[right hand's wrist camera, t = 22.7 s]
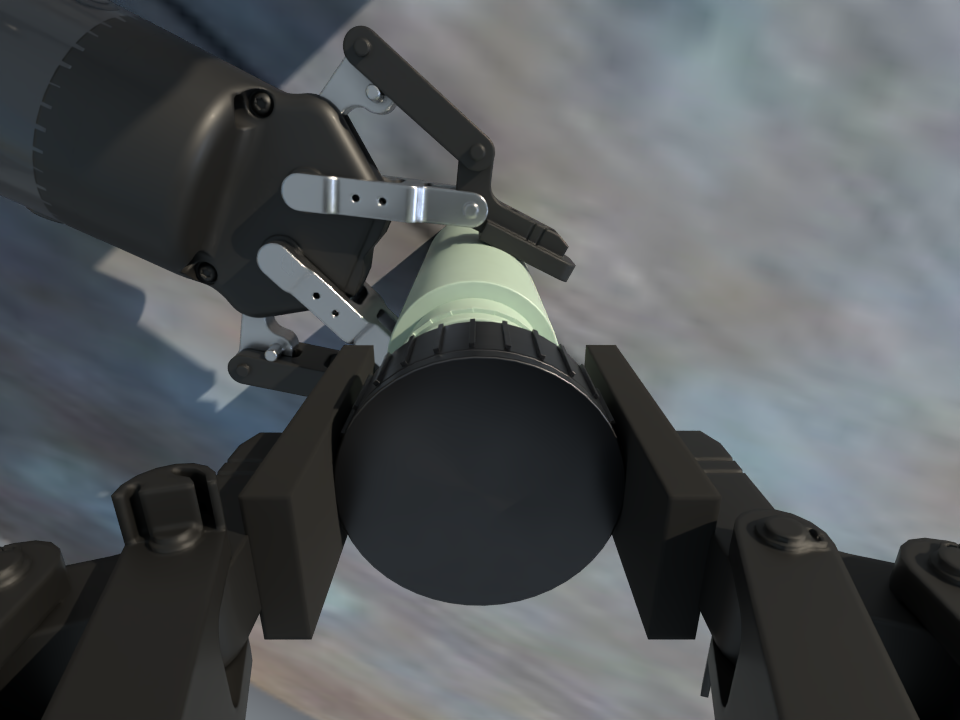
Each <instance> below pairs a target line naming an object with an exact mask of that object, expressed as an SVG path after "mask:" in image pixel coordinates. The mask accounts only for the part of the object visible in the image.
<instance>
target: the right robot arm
mask: <svg viewBox="0 0 960 720" xmlns="http://www.w3.org/2000/svg"><path fill="white" fill-rule="evenodd" d="M585 368H586V370H587V372H588V374H589V376H590V378H591V380H592V383H593V385H594V387H595V389H596V388H598V389H599V391H600V393H601V395H602V397H603V399H604V401H605V403H606V405H607V407H608V409H609V411H610V413H611V415H612V417H613V419H614V421H615V423H616V424H614V425H612V427H613V429H614V431H615V433H616V435H617V438H618V440H619V443H620V446H621V449H622V452H623V456H624V462H625V469H626V482H625V492H624V500H623V507H622V511H621V514H620V517H619V520H618V522H617V525H616V527H615V529H614V531H613V533H612V536H613V539H614V542H615V545H616V547H617V550H618V553H619V556H620V559H621V562H622V565H623V568H624V571H625V574H626V577H627V579H628V582H629V585H630V588H631V591H632V594H633V597H634V600H635V603H636V606H637V608H638V611H639V614H640V617H641V620H642V623H643V626H644V629H645V632H646V635H647V637H648V639H695V637H696V632H697V627H698V621H699V616H700V611H701V613H702V616H703V618H704V620H705V622H706V624H707V626H708V628H709V630H710V632H711V634H712V638H711V643H710V648H709V653H708V658H707V663H706V668H705V673H704V678H703V683H702V689H701V696H703V697H708V696H709V691H710V686H711V691H712V699H713V707H714V715H715V720H960V544H959V545H958V544H956V543H954V542H950V541H946V540H937V539H930V538H919V539H911V540H908V541H907V542H905V543H904V544H903V545H901V546H900V549H899V552H898V555H897V558H896V561H895V563H891V562H886V561H881V560H877V559H872V558H867V557H862V556H857V555H852V554H848V553H844V552H840V551H838V550H837V547H836V545H835V544H834V543H833V541H832V540H831V539H830V537H829V536H828V535H827V534H826V532H824V531H823V530H821V529H820V528H818V527H817V526H816V525H814V524H813V523H811V522H810V521H807V520H805V519H803V518H801V517H798V516H796V515H794V514H791V513H787V512H783V511H779V510H775V509H774V508H773V507H772V505H771V504H770V503H769V502H768V501H767V499H766V498H765V497H764V496H763V495H762V493H761V492H760V491H759V490H758V488H757V487H756V486H755V485H754V484H753V482H752V481H751V480H750V479H749V478H748V476H747V475H746V474H745V473H742V469H741V468H740V467H739V465H738V464H737V463H736V462H735V461H732V457H731V456H730V454H729V453H728V452H727V451H726V450H725V448H724V447H723V446H722V445H721V444H720V443H719V442H717V441H716V440H714V439H712V438H711V437H709V436H708V435H706V434H704V433H703V432H701V431H676V430H675V429H674V428H673V426H672V425H671V423H670V422H669V420H668V419H667V418H666V416H665V415H664V413H663V412H662V410H661V409H660V408H659V406H658V405H657V403H656V402H655V401H654V399H653V398H652V396H651V395H650V393H649V392H648V391H647V389H646V388H645V386H644V385H643V383H642V382H641V381H640V379H639V378H638V376H637V375H636V373H635V372H634V371H633V369H632V368H631V366H630V365H629V363H628V362H627V361H626V359H625V358H624V356H623V355H622V353H621V352H620V351H619V349H618V348H617V346H616V345H586V353H585ZM374 373H375V358H374V345H344V346H343V347H342V349H341V350H340V351H339V353H338V354H337V356H336V357H335V359H334V360H333V361H332V363H331V364H330V366H329V367H328V369H327V370H326V371H325V373H324V374H323V376H322V377H321V379H320V380H319V381H318V383H317V384H316V386H315V387H314V389H313V390H312V391H311V393H310V394H309V396H308V397H307V399H306V400H305V401H304V403H303V404H302V406H301V407H300V409H299V410H298V411H297V413H296V414H295V416H294V417H293V419H292V420H291V421H290V423H289V424H288V426H287V427H286V429H285V430H284V431H283V433H259V434H257V435H255V436H254V437H252V438H250V439H249V440H247V441H246V442H244V443H242V444H241V445H239V447H238V448H237V449H236V450H235V451H234V453H233V454H232V455H231V456H230V458H229V459H228V462H227V463H225V464H224V465H223V466H222V467H221V469H220V470H219V471H218V475H216V473H215V472H214V471H213V470H212V469H210V468H209V467H208V466H205V465H200V464H195V463H187V464H173V465H168V466H164V467H159V468H155V469H153V470H150V471H147V472H145V473H142V474H140V475H137V476H135V477H134V478H132V479H130V480H129V481H127V482H126V483H124V484H122V485H121V486H120V487H119V488H118V489H117V490H116V491H115V492H114V493H113V494H112V495H111V497H112V501H113V504H114V508H115V511H116V515H117V518H118V522H119V525H120V529H121V532H122V536H123V539H124V543H125V546H124V549H123V551H122V553H121V554H118V555H114V556H110V557H105V558H100V559H95V560H91V561H86V562H81V563H76V564H71V565H66V566H65V563H64V560H63V557H62V554H61V551H60V548H58V547H57V546H56V545H54V544H53V543H52V542H45V541H37V540H35V541H27V542H20V543H13V544H9V545H5V546H4V547H0V720H245V716H246V708H247V700H248V692H249V684H250V676H251V668H252V654H251V648H250V643H249V638H248V636H249V634H250V632H251V630H252V628H253V626H254V624H255V622H256V620H257V618H258V615H259V613H260V618H261V623H262V629H263V634H264V639H312V636H313V634H314V631H315V628H316V625H317V622H318V619H319V616H320V613H321V610H322V607H323V605H324V602H325V599H326V596H327V593H328V590H329V587H330V584H331V581H332V578H333V575H334V573H335V570H336V567H337V564H338V561H339V558H340V555H341V552H342V549H343V546H344V544H345V541H346V538H347V535H348V534H347V532H346V530H345V529H344V526H343V524H342V521H341V518H340V516H339V513H338V509H337V505H336V496H335V487H334V464H335V460H336V456H337V451H338V447H339V445H340V442H341V440H342V437H340V433H341V430H342V428H343V426H344V424H345V422H346V420H347V418H348V416H349V414H350V412H351V410H352V407H353V405H354V403H355V401H356V399H357V397H358V395H359V393H360V391H361V389H362V387H363V385H364V383H365V381H366V379H367V377H368V376H369V374H371V375H372V376H373V375H374Z"/></svg>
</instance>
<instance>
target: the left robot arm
mask: <svg viewBox="0 0 960 720" xmlns="http://www.w3.org/2000/svg"><path fill="white" fill-rule="evenodd" d="M343 50H344V54H345V58H344V59H343V60H342V62H341V63H340V65H339V66H338V68H337V69H336V71H335V72H334V74H333V75H332V77H331V78H330V80H329V81H328V83H327V84H326V86H325V87H324V89H323V90H322V92H321V93H320V95H317V94H312V93H304V94H290V93H286V92H284V91H282V90H280V89H277V88H276V87H274V86H272V85H270V84H268V83H266V82H264V81H262V80H260V79H258V78H256V77H254V76H252V75H251V74H249V73H247V72H245V71H243V70H241V69H239V68H237V67H235V66H233V65H231V64H229V63H228V62H226V61H224V60H222V59H220V58H218V57H216V56H214V55H212V54H210V53H208V52H206V51H204V50H203V49H201V48H199V47H197V46H195V45H193V44H191V43H189V42H187V41H185V40H183V39H181V38H180V37H178V36H176V35H174V34H172V33H170V32H168V31H166V30H164V29H162V28H161V27H159V26H157V25H155V24H153V23H151V22H149V21H147V20H145V19H143V18H141V17H139V16H137V15H135V14H133V13H131V12H130V11H128V10H126V9H124V8H122V7H120V6H118V5H116V4H115V3H113V2H112V1H110V0H0V195H1V196H3V197H6V198H8V199H10V200H12V201H15V202H17V203H19V204H22V205H24V206H26V207H27V208H28V209H29V210H31V212H33V213H34V214H36V215H38V216H41V217H43V218H46V219H48V220H51V221H54V222H58V223H63V224H66V225H68V226H70V227H73V228H75V229H77V230H79V231H82V232H84V233H86V234H88V235H91V236H93V237H95V238H97V239H100V240H102V241H104V242H107V243H109V244H111V245H113V246H116V247H118V248H120V249H122V250H124V251H127V252H129V253H131V254H133V255H136V256H138V257H140V258H142V259H144V260H147V261H149V262H151V263H153V264H156V265H158V266H160V267H162V268H164V269H167V270H169V271H171V272H173V273H176V274H178V275H180V276H183V277H186V278H189V279H192V280H195V281H198V282H201V283H204V284H207V285H209V286H211V287H212V288H214V289H215V290H217V291H218V292H219V293H220V294H222V295H223V296H224V297H225V298H226V299H227V301H228V302H229V303H230V304H231V305H232V306H233V307H234V308H235V309H236V310H237V311H239V312H240V313H242V320H241V334H240V349H239V352H238V353H237V354H236V356H234V357H233V358H232V359H231V360H230V361H229V364H228V372H229V374H230V376H231V377H232V378H233V379H234V380H235V381H237V382H239V383H242V384H246V385H251V386H256V387H261V388H267V389H272V390H277V391H282V392H287V393H292V394H297V395H302V396H307V397H308V396H309V394H310V393H311V391H312V390H313V389H314V387H315V386H316V384H317V383H318V381H319V380H320V379H321V377H322V376H323V374H324V373H325V371H326V370H327V369H328V367H329V366H330V364H331V363H332V361H333V360H334V359H335V357H336V356H337V354H338V353H339V350H334V349H330V348H325V347H320V346H315V345H310V344H305V343H300V342H299V340H298V338H297V336H296V334H295V333H294V332H292V331H291V330H289V329H286V328H284V327H282V326H280V325H279V324H278V323H277V321H276V320H275V318H274V316H278V315H284V314H290V313H296V312H302V311H309V310H310V311H311V312H312V313H313V314H314V315H315V316H316V317H317V318H318V319H320V320H321V321H322V322H323V323H324V324H325V325H326V326H327V327H328V328H329V329H331V330H332V331H333V332H334V333H335V334H336V335H337V336H338V337H339V338H341V339H342V340H343V341H344V342H346V343H348V344H354V345H374V358H375V372H376V371H377V369H378V368H379V367H380V366H381V364H382V362H383V360H384V357H385V355H386V354H387V351H388V344H389V341H390V337H391V334H392V332H393V329H394V327H395V325H396V323H397V320H398V317H397V316H396V315H395V314H394V313H393V312H392V311H391V310H389V309H388V307H387V306H386V305H385V303H384V300H383V299H382V297H381V296H380V295H379V294H378V293H377V292H376V291H375V290H374V289H373V288H372V287H371V286H370V285H369V284H368V283H366V282H365V280H366V278H367V276H368V273H369V271H370V269H371V265H372V258H373V250H374V247H375V245H376V244H377V243H378V241H379V240H380V239H381V238H382V237H383V235H384V234H385V233H386V232H387V229H388V227H389V225H390V223H391V221H399V222H408V223H418V222H425V223H434V224H442V225H450V226H459V227H467V228H472V229H474V230H476V231H478V232H479V239H480V240H482V241H484V242H486V243H488V244H489V245H491V246H493V247H495V248H497V249H500V250H502V251H504V252H506V253H508V254H509V255H511V256H513V257H515V258H517V259H519V260H521V261H523V262H525V263H527V264H529V265H531V266H533V267H535V268H537V269H539V270H541V271H543V272H545V273H547V274H549V275H551V276H553V277H555V278H557V279H559V280H561V281H564V282H567V280H568V278H569V276H570V275H571V273H572V271H573V269H574V268H575V266H576V265H575V264H574V263H573V262H572V260H571V259H570V258H569V257H567V256H566V255H564V254H565V252H566V250H567V248H568V247H569V246H568V245H567V244H566V243H565V241H564V240H563V239H562V238H561V236H560V235H559V234H558V233H557V232H556V231H555V230H554V229H552V228H550V227H548V226H546V225H545V224H543V223H541V222H539V221H537V220H535V219H533V218H531V217H529V216H527V215H525V214H523V213H522V212H520V211H518V210H516V209H514V208H512V207H510V206H508V205H506V204H504V203H502V202H501V201H499V200H498V199H497V198H496V197H495V196H494V195H493V193H492V191H491V178H492V169H493V161H494V156H495V148H494V145H493V143H492V141H491V140H490V139H489V138H488V137H487V136H486V135H485V134H484V133H483V132H482V131H481V130H480V129H479V128H478V127H477V126H475V125H474V124H473V123H472V122H471V121H470V120H469V119H468V118H467V117H466V116H465V115H464V114H462V113H461V112H460V111H459V110H458V109H457V108H456V107H455V106H454V105H453V104H452V103H451V102H450V101H448V100H447V99H446V98H445V97H444V96H443V95H442V94H441V93H440V92H439V91H438V90H437V89H435V88H434V87H433V86H432V85H431V84H430V83H429V82H428V81H427V80H426V79H425V78H424V77H423V76H421V75H420V74H419V73H418V72H417V71H416V70H415V69H414V68H413V67H412V66H411V65H410V64H408V63H407V62H406V61H405V60H404V59H403V58H402V57H401V56H400V55H399V54H398V53H397V52H396V51H394V50H393V49H392V48H391V47H390V46H389V45H388V44H387V43H386V42H385V41H384V40H383V39H382V38H380V37H379V36H378V35H377V34H376V33H375V32H374V31H373V30H371V29H370V28H368V27H365V26H356V27H354V28H352V29H350V30H349V31H348V32H347V34H346V35H345V38H344V41H343ZM396 106H398V107H399V108H401V109H402V110H403V111H404V112H405V113H406V114H407V115H408V116H409V117H411V118H412V119H413V120H414V121H415V122H416V123H417V124H418V125H420V126H421V127H422V128H423V129H424V130H425V131H426V132H427V133H428V134H430V135H431V136H432V137H433V138H434V139H435V140H436V141H437V142H438V143H440V144H441V145H442V146H443V147H444V148H445V149H446V150H447V151H449V152H450V153H451V154H452V155H453V156H454V157H455V158H456V159H457V160H459V162H458V173H457V184H456V185H450V184H442V183H434V182H428V181H424V180H417V179H409V178H400V177H392V176H384V175H381V174H380V172H379V171H378V169H377V167H376V165H375V163H374V162H373V160H372V158H371V156H370V154H369V153H368V151H367V149H366V147H365V145H364V144H363V142H362V140H361V138H360V136H359V135H358V133H357V131H356V129H355V127H354V126H353V124H352V122H351V120H350V118H349V116H348V113H349V112H350V111H351V110H353V109H355V108H359V107H362V108H365V109H367V110H368V111H370V112H372V113H375V114H379V115H385V114H388V113H390V112H392V111H393V110H394V109H395V107H396ZM336 310H337V311H338V312H336Z"/></svg>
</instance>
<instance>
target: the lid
mask: <svg viewBox="0 0 960 720" xmlns="http://www.w3.org/2000/svg"><path fill="white" fill-rule="evenodd" d="M614 424H616V423H615V421H614V419H613V417H612V415H611V413H610V411H609V409H608V407H607V405H606V403H605V401H604V399H603V397H602V395H601V393H600V391H599V389H598V388H596V389H595V387H594V385H593V383H592V380H591V378H590V376H589V374H588V372H587V370H586V368H585V367H584V365H583V364H581V365H580V366H579V365H578V364H577V363H576V362H575V361H574V360H573V359H572V358H571V356H570V355H569V354H567V352H566V350H565V348H564V346H563V345H561V344H560V345H559V346H557V345H556V344H554V343H553V342H551V341H549V340H548V339H546V338H544V337H543V336H541V335H539V334H538V331H537V330H535V329H533V330H532V331H529V330H527V329H524V328H520V327H517V326H513V325H510V324H508V322H507V321H503V320H502V323H497V322H485V321H475V319H470V322H462V323H455V324H451V325H446V326H444V324H443V323H442V324H439V325H438V328H436V329H433V330H430V331H428V332H425V333H423V334H421V335H419V336H417V337H415V335H412V336H410V338H409V340H408V342H407V343H405V344H404V345H402V346H401V347H400V348H398V349H397V350H395V351H394V352H393V353H392V354H391V353H389V352H388V353H387V354H386V355H385V357H384V360H383V362H382V364H381V366H380V367H379V368H378V369H377V371H376V372H375V373H374V375H373V376H372V375H371V374H369V376H368V377H367V379H366V381H365V383H364V385H363V387H362V389H361V391H360V393H359V395H358V397H357V399H356V401H355V403H354V405H353V407H352V410H351V412H350V414H349V416H348V418H347V420H346V422H345V424H344V426H343V428H342V430H341V433H340V437H342V440H341V442H340V445H339V447H338V451H337V456H336V460H335V464H334V487H335V496H336V505H337V509H338V513H339V516H340V518H341V521H342V524H343V526H344V529H345V530H346V532H347V534H348V536H349V537H350V539H351V541H352V543H353V544H354V545H355V547H356V548H357V549H358V550H359V552H360V553H361V554H362V556H363V557H364V558H365V559H366V560H367V561H368V562H369V563H370V564H371V565H372V566H373V567H374V568H376V569H377V570H378V571H379V572H381V573H382V574H383V575H384V576H386V577H387V578H389V579H390V580H392V581H394V582H395V583H397V584H398V585H400V586H402V587H404V588H406V589H408V590H410V591H412V592H414V593H417V594H419V595H422V596H425V597H428V598H431V599H434V600H439V601H443V602H447V603H453V604H461V605H481V606H486V605H498V604H506V603H511V602H517V601H521V600H524V599H528V598H531V597H534V596H537V595H540V594H542V593H544V592H547V591H549V590H552V589H553V588H555V587H557V586H559V585H561V584H563V583H564V582H566V581H568V580H569V579H570V578H572V577H573V576H575V575H576V574H577V573H579V572H580V571H581V570H582V569H584V568H585V567H586V566H587V565H588V564H589V563H590V562H591V561H592V560H593V559H594V558H595V557H596V556H597V554H598V553H599V552H600V551H601V550H602V549H603V547H604V546H605V544H606V543H607V541H608V540H609V538H610V537H611V535H612V533H613V531H614V529H615V527H616V525H617V522H618V520H619V517H620V514H621V511H622V507H623V500H624V492H625V482H626V469H625V462H624V456H623V452H622V449H621V446H620V443H619V440H618V438H617V435H616V433H615V431H614V429H613V427H612V425H614Z"/></svg>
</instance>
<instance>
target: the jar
mask: <svg viewBox="0 0 960 720" xmlns="http://www.w3.org/2000/svg"><path fill="white" fill-rule="evenodd" d="M470 319H475V321H485V322H497V323H502V320H503V321H507V322H508V324H510V325H513V326H517V327H520V328H524V329H527V330H529V331H532V330H533V329H535V330H537V331H538V334H539V335H541V336H543V337H544V338H546V339H548V340H549V341H551V342H553V343H554V344H556V345H557V346H558V342H557V339H556V336H555V333H554V330H553V328H552V325H551V323H550V321H549V318H548V316H547V313H546V311H545V309H544V306H543V304H542V302H541V299H540V297H539V294H538V292H537V290H536V287H535V285H534V282H533V280H532V278H531V275H530V273H529V270H528V268H527V266H526V263H525V262H523V261H521V260H519V259H517V258H515V257H513V256H511V255H509V254H508V253H506V252H504V251H502V250H500V249H497V248H495V247H493V246H491V245H489V244H488V243H486V242H484V241H482V240H480V239H479V232H478V231H476V230H474V229H472V228H467V227H459V226H450V225H447V226H446V227H444V228H443V229H442V230H441V231H440V232H439V233H438V234H437V235H436V236H435V238H434V240H433V241H432V243H431V245H430V247H429V250H428V252H427V254H426V257H425V259H424V261H423V263H422V266H421V268H420V270H419V272H418V275H417V277H416V279H415V282H414V284H413V286H412V288H411V291H410V293H409V295H408V298H407V300H406V302H405V304H404V307H403V309H402V311H401V314H400V316H399V318H398V320H397V323H396V325H395V327H394V329H393V332H392V334H391V337H390V341H389V344H388V351H387V353H388V352H389V353H391V354H392V353H393V352H394V351H395V350H397V349H398V348H400V347H401V346H402V345H404V344H405V343H407V342H408V340H409V338H410V336H412V335H415V337H417V336H419V335H421V334H423V333H425V332H428V331H430V330H433V329H436V328H438V325H439V324H442V323H443V324H444V326H446V325H451V324H455V323H462V322H470Z"/></svg>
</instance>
